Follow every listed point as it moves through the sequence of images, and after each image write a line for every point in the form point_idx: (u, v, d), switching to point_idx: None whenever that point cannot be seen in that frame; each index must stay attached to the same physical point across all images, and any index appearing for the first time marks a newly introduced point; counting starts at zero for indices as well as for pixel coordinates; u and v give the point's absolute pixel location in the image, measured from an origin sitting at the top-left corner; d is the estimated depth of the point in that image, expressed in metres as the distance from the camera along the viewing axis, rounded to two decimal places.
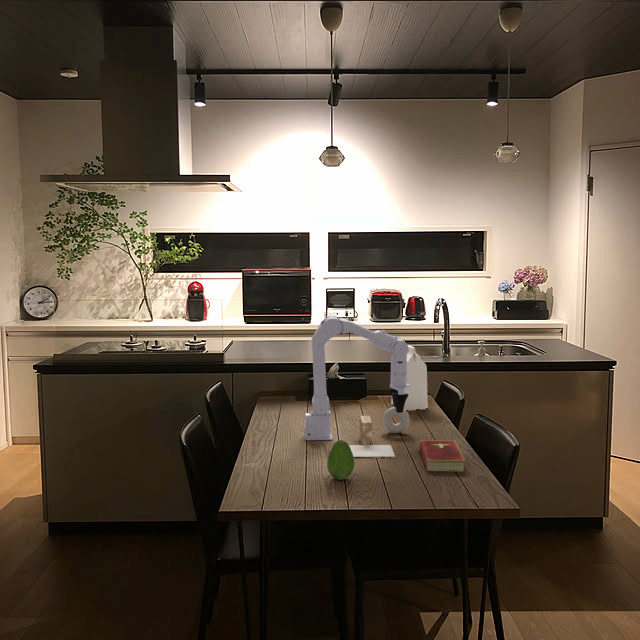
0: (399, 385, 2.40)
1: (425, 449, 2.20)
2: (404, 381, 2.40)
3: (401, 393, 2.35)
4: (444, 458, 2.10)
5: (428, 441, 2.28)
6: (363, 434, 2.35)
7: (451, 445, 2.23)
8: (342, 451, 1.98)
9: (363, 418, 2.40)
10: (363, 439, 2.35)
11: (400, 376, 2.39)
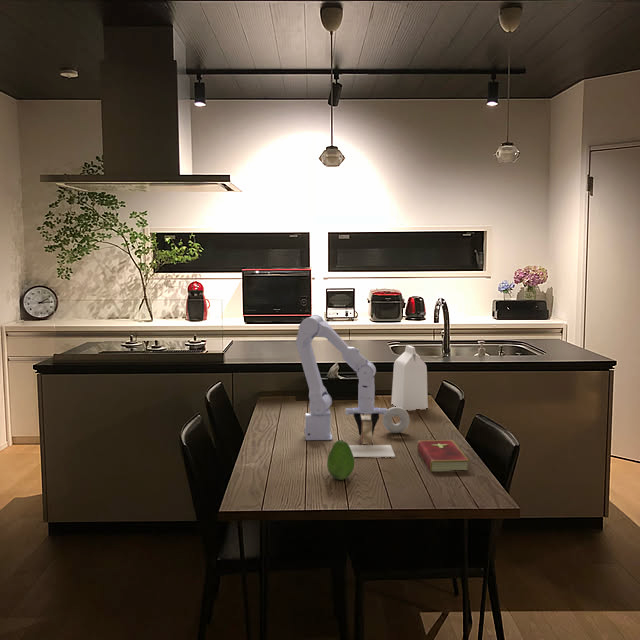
0: (358, 407, 2.39)
1: (426, 450, 2.19)
2: (360, 405, 2.37)
3: None
4: (448, 459, 2.10)
5: (426, 441, 2.28)
6: (363, 434, 2.35)
7: (450, 445, 2.24)
8: (341, 451, 1.98)
9: (363, 418, 2.40)
10: (363, 439, 2.35)
11: (358, 399, 2.38)
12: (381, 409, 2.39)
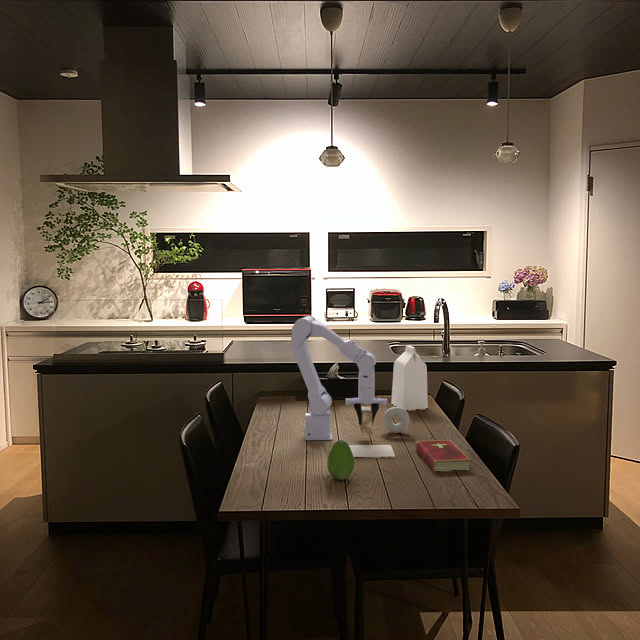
0: (358, 398, 2.38)
1: (426, 450, 2.19)
2: (360, 395, 2.36)
3: None
4: (450, 458, 2.10)
5: (425, 442, 2.27)
6: (363, 425, 2.35)
7: (449, 445, 2.24)
8: (341, 451, 1.98)
9: (363, 409, 2.39)
10: (363, 430, 2.35)
11: (358, 389, 2.37)
12: (381, 399, 2.38)
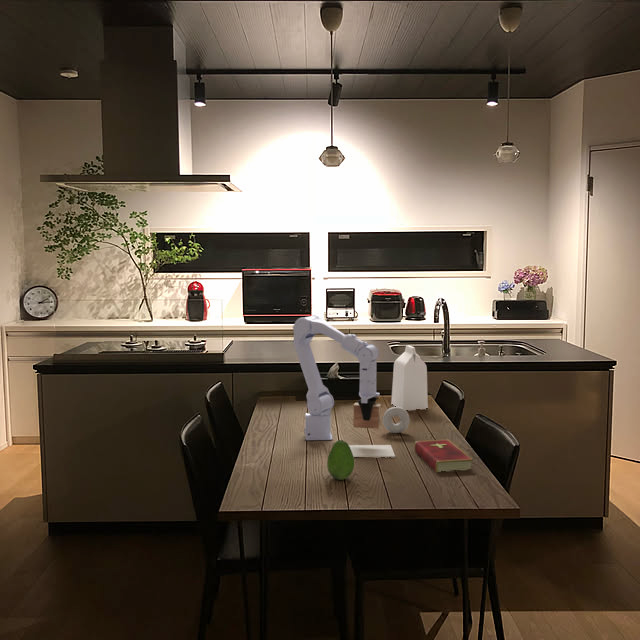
0: (366, 393, 2.30)
1: (427, 450, 2.18)
2: (371, 389, 2.30)
3: (364, 401, 2.26)
4: (452, 458, 2.10)
5: (423, 442, 2.27)
6: (379, 418, 2.32)
7: (448, 444, 2.24)
8: (341, 451, 1.98)
9: None
10: (379, 423, 2.32)
11: (367, 384, 2.30)
12: None
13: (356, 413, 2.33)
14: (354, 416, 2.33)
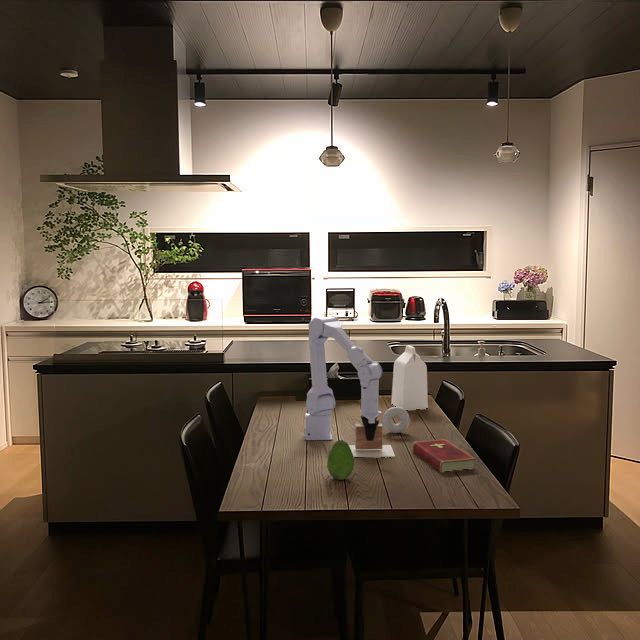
0: (370, 413, 2.23)
1: (428, 451, 2.18)
2: (375, 408, 2.24)
3: (372, 422, 2.19)
4: (455, 458, 2.11)
5: (422, 442, 2.27)
6: None
7: (447, 444, 2.25)
8: (341, 451, 1.98)
9: None
10: None
11: (371, 403, 2.23)
12: None
13: (359, 435, 2.25)
14: (356, 438, 2.25)
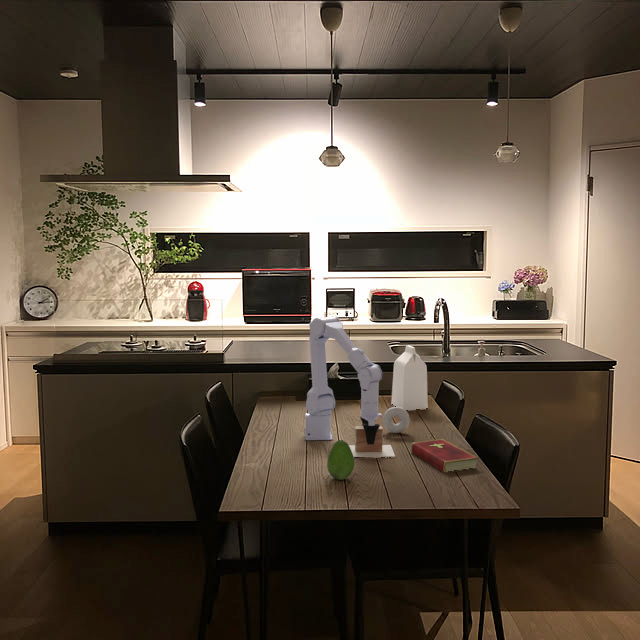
0: (370, 415, 2.23)
1: (429, 451, 2.17)
2: (375, 410, 2.24)
3: (371, 424, 2.19)
4: (457, 458, 2.11)
5: (420, 443, 2.26)
6: None
7: (446, 444, 2.25)
8: (341, 451, 1.98)
9: None
10: None
11: (371, 405, 2.23)
12: None
13: (359, 437, 2.25)
14: (356, 440, 2.25)
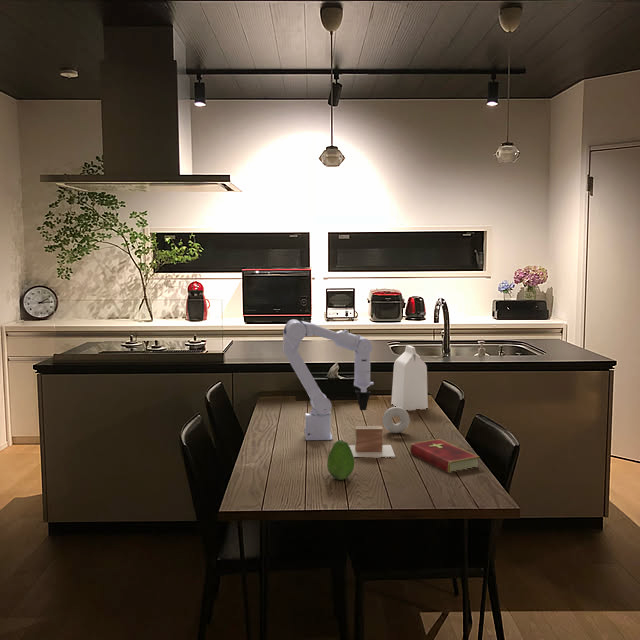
0: (362, 383, 2.42)
1: (430, 451, 2.17)
2: (367, 379, 2.42)
3: (363, 391, 2.37)
4: (460, 458, 2.11)
5: (419, 443, 2.26)
6: None
7: (444, 444, 2.25)
8: (341, 451, 1.98)
9: (366, 428, 2.26)
10: None
11: (363, 374, 2.41)
12: None
13: (359, 437, 2.25)
14: (356, 440, 2.25)
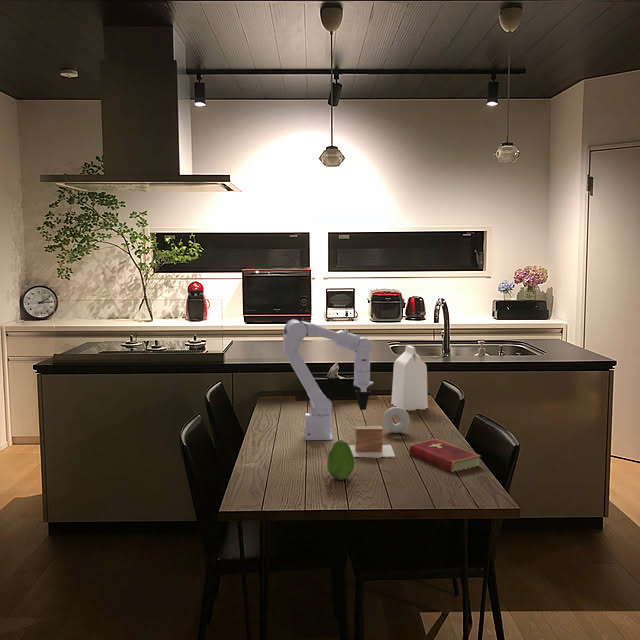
0: (362, 382, 2.42)
1: (431, 452, 2.17)
2: (367, 378, 2.43)
3: (363, 390, 2.38)
4: (462, 457, 2.12)
5: (418, 444, 2.25)
6: None
7: (443, 444, 2.25)
8: (341, 451, 1.98)
9: (366, 428, 2.26)
10: None
11: (363, 374, 2.42)
12: None
13: (359, 437, 2.25)
14: (356, 440, 2.25)
